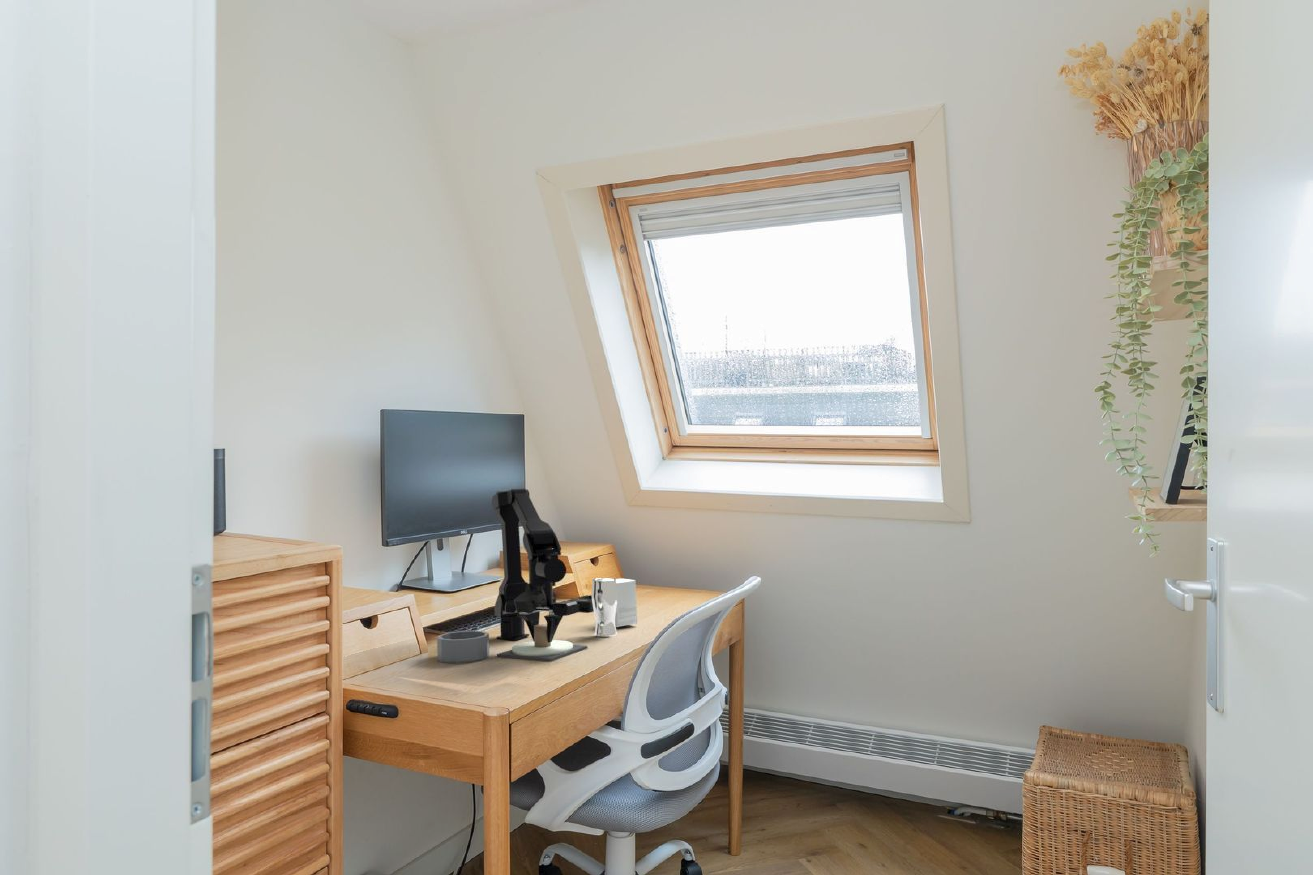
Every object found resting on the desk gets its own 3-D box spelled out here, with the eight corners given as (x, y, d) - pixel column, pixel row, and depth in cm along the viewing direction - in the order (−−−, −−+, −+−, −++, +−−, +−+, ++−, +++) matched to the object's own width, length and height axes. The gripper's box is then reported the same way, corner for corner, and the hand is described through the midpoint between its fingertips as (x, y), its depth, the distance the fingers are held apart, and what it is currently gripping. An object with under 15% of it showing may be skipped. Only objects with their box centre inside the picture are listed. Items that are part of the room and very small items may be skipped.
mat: (535, 644, 236) (535, 641, 236) (587, 648, 228) (587, 645, 228) (496, 656, 222) (496, 654, 222) (551, 661, 214) (550, 658, 214)
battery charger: (590, 615, 282) (589, 602, 283) (564, 613, 287) (564, 600, 287) (611, 608, 294) (611, 596, 294) (586, 607, 298) (586, 595, 298)
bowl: (460, 651, 229) (460, 629, 230) (498, 654, 224) (498, 632, 224) (427, 661, 219) (427, 638, 219) (466, 664, 213) (466, 641, 213)
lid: (535, 642, 235) (535, 619, 235) (584, 646, 228) (583, 622, 228) (499, 653, 222) (499, 629, 222) (550, 658, 215) (549, 632, 215)
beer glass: (595, 638, 241) (594, 581, 242) (590, 633, 248) (588, 578, 248) (621, 636, 243) (619, 579, 244) (615, 631, 250) (613, 577, 250)
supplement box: (623, 620, 267) (621, 577, 268) (637, 623, 261) (636, 579, 262) (602, 624, 263) (600, 580, 263) (616, 627, 257) (615, 582, 257)
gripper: (490, 581, 223) (492, 645, 222) (553, 584, 214) (555, 650, 213) (517, 576, 233) (519, 637, 232) (579, 578, 224) (581, 641, 223)
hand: (542, 641), depth 225 cm, fingers closed on lid, 4 cm apart
